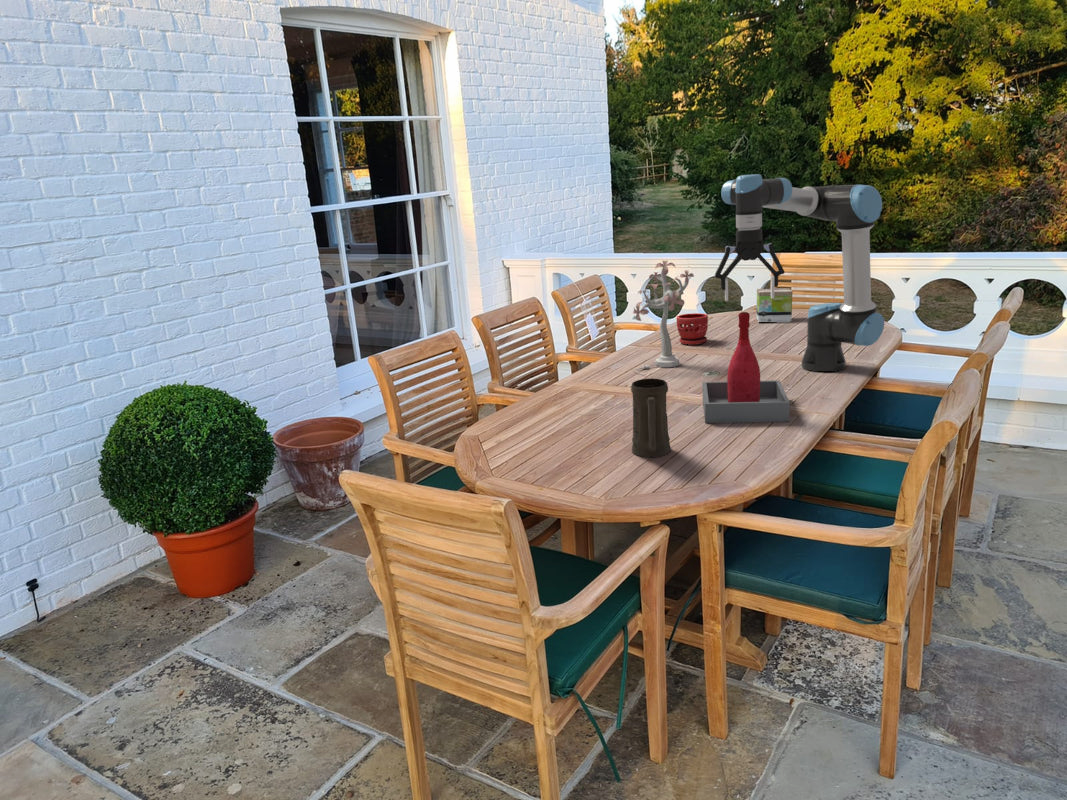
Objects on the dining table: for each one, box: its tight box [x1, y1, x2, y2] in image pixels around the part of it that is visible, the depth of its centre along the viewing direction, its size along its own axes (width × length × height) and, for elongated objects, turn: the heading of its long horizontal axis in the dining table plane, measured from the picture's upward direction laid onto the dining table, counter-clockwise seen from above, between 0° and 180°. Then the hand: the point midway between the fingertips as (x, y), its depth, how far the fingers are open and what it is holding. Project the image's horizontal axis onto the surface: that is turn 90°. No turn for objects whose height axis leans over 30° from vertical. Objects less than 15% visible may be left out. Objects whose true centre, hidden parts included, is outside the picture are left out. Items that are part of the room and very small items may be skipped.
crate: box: [702, 379, 791, 424], centre depth 250 cm, size 24×24×6 cm
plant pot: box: [676, 312, 709, 346], centre depth 342 cm, size 13×13×12 cm
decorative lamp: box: [632, 259, 695, 377], centre depth 304 cm, size 28×24×40 cm
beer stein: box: [630, 378, 672, 458], centre depth 217 cm, size 15×11×20 cm
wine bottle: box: [726, 311, 761, 402], centre depth 246 cm, size 10×10×30 cm
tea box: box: [755, 287, 793, 323], centre depth 372 cm, size 15×10×15 cm
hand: (749, 299), depth 245 cm, fingers open, 13 cm apart
